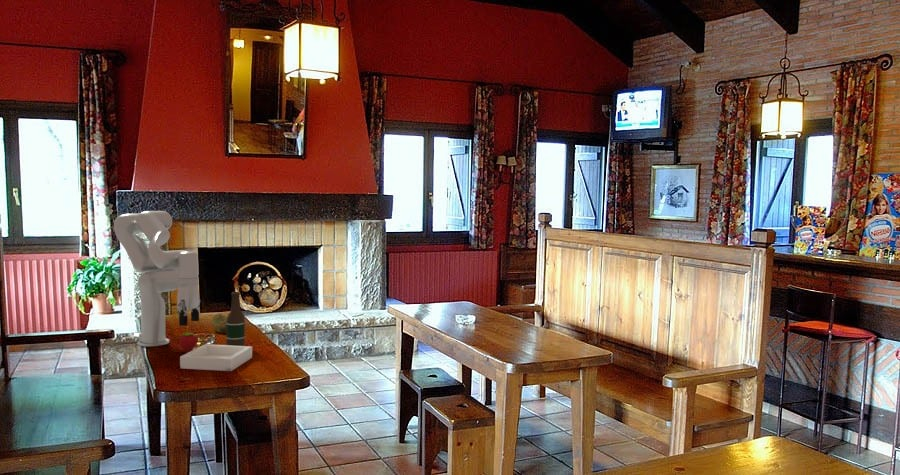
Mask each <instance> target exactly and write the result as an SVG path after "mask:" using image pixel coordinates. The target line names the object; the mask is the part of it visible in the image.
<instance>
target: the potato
mask: <svg viewBox="0 0 900 475" xmlns="http://www.w3.org/2000/svg"><path fill="white" fill-rule="evenodd" d="M227 317H228V316H226V315H225V314H223V313H216V314H215V315H213V317H212V320H211V323H212V324H211V325H212V327H213V328H214V330H215V331H216V332H217V333H220V334H226V322H227Z"/></svg>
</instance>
